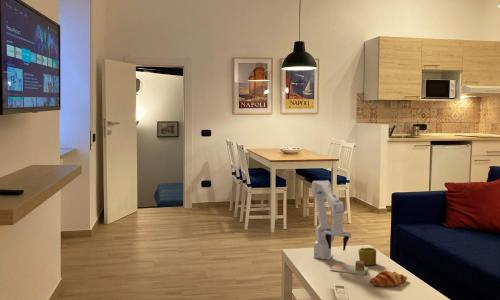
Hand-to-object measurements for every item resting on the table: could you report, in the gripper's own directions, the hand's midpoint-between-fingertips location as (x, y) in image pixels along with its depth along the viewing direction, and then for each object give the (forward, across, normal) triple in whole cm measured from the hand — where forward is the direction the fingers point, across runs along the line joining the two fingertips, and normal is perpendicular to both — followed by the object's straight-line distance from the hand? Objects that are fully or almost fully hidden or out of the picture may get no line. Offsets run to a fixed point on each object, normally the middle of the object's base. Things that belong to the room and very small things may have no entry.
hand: (337, 249), depth 250 cm
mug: (+10, +14, +14) cm, 22 cm away
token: (+9, +12, -1) cm, 16 cm away
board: (+10, +7, -1) cm, 12 cm away
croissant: (+10, +28, -13) cm, 33 cm away
